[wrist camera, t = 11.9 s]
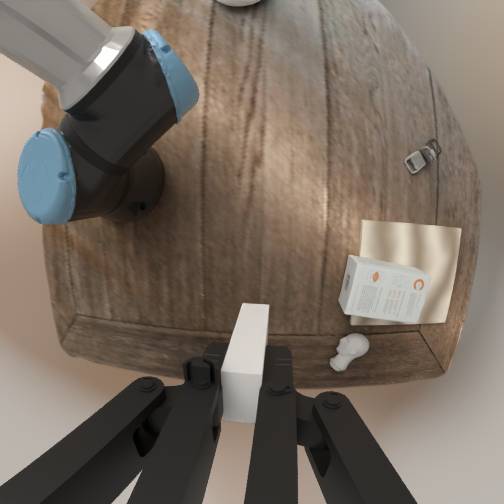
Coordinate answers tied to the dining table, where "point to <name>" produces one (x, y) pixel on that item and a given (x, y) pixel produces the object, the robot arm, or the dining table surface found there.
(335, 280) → the dining table surface
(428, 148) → the strap clip
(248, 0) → the flower in vase
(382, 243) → the birch board
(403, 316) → the small box
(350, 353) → the smooth white sculpture
